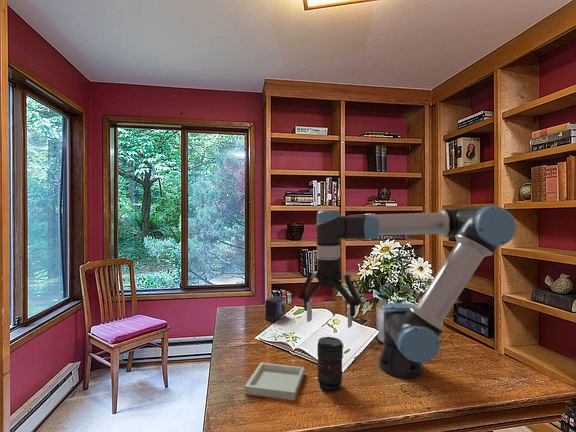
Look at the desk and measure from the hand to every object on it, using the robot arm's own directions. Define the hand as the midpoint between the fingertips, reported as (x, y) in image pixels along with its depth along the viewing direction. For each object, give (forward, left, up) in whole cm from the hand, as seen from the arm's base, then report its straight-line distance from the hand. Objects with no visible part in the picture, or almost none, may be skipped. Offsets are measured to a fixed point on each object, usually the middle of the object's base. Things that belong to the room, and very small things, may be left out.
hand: (329, 323), depth 106 cm
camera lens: (0, 0, -21) cm, 21 cm away
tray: (+17, +5, -21) cm, 27 cm away
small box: (+45, -53, -21) cm, 72 cm away
